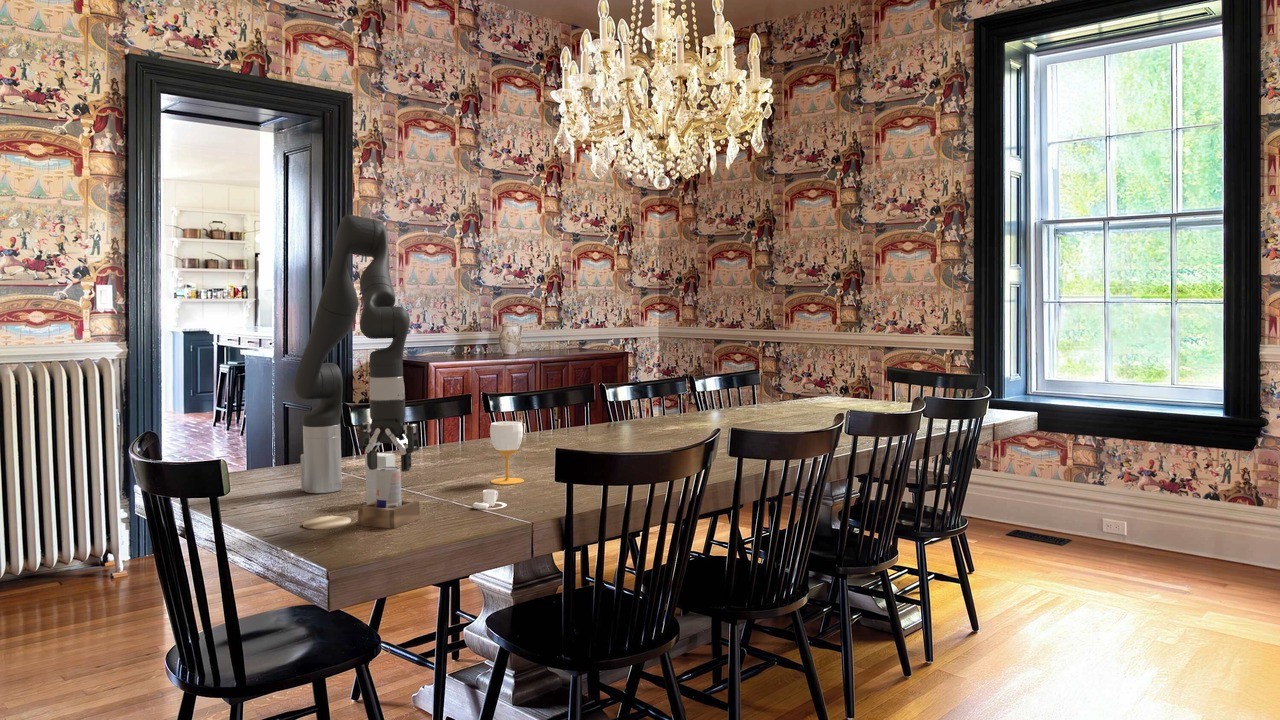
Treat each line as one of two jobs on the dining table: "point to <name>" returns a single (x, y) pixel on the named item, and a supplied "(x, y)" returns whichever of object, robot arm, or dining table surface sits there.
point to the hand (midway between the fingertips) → (389, 470)
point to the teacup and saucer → (489, 500)
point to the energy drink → (388, 487)
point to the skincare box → (382, 461)
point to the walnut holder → (388, 515)
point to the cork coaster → (326, 522)
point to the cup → (506, 445)
